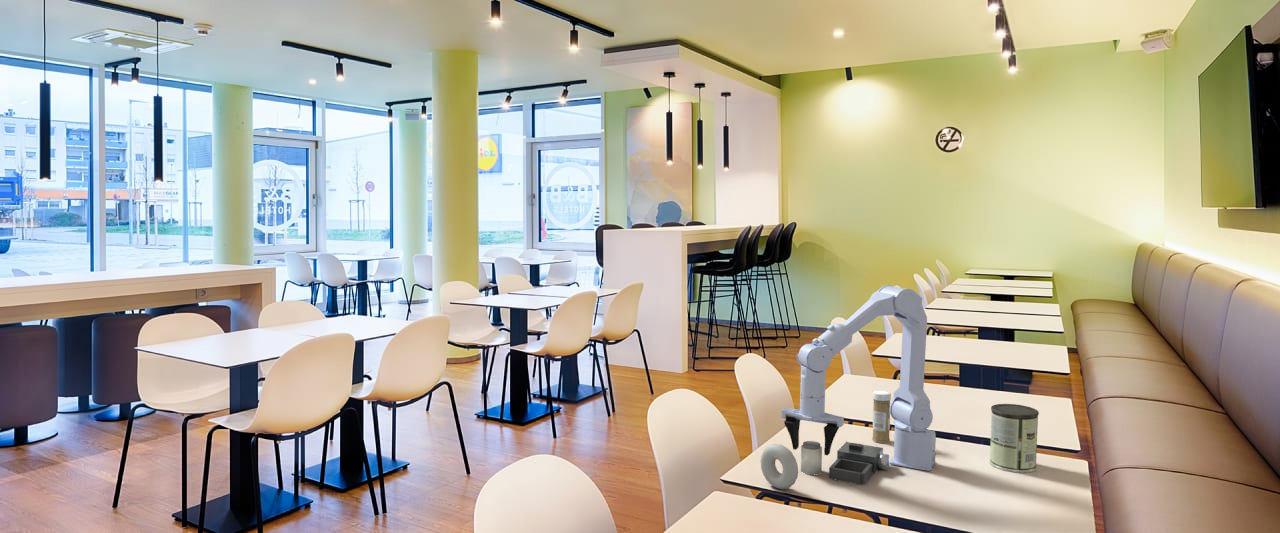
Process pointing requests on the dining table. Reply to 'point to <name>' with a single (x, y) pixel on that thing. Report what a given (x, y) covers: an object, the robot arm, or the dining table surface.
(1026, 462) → the coffee can
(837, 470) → the dark grey square tray
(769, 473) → the donut
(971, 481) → the dining table surface
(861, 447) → the drawer
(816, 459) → the white gray cylinder
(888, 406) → the sprinkles bottle
